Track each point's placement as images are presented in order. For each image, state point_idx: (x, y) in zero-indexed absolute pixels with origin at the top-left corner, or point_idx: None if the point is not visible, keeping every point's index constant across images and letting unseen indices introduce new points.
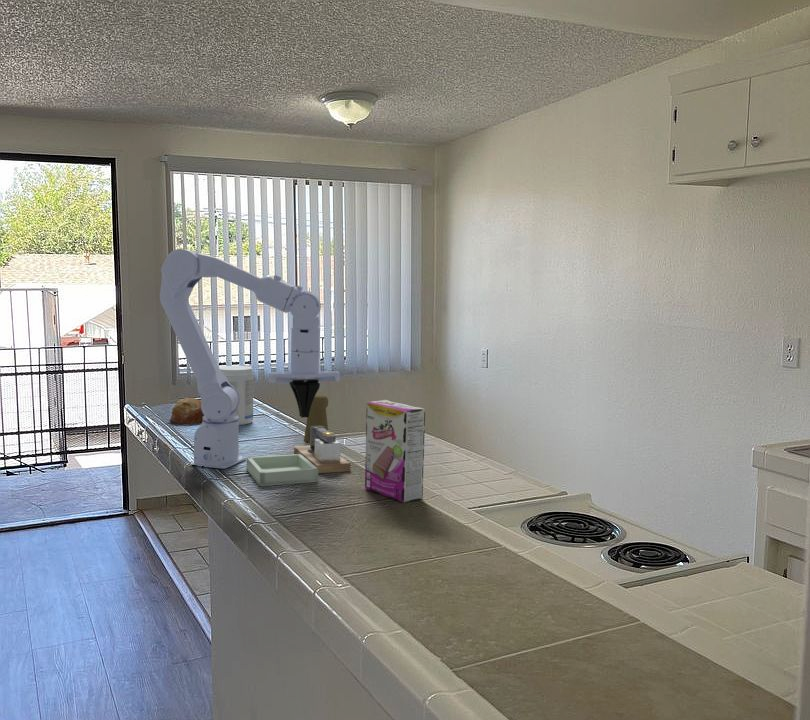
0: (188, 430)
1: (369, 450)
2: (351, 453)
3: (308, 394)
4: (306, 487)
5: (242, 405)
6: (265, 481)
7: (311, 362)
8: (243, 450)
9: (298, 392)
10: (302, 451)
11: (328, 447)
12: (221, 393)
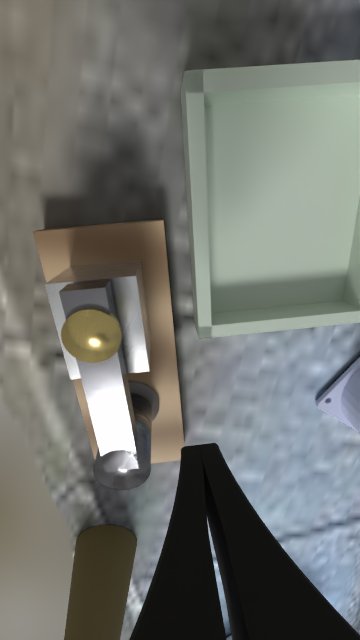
0: (340, 604)
1: None
2: (27, 432)
3: (216, 606)
4: (240, 5)
5: None
6: None
7: None
8: (291, 478)
9: (337, 623)
10: (174, 406)
11: (106, 274)
12: None
